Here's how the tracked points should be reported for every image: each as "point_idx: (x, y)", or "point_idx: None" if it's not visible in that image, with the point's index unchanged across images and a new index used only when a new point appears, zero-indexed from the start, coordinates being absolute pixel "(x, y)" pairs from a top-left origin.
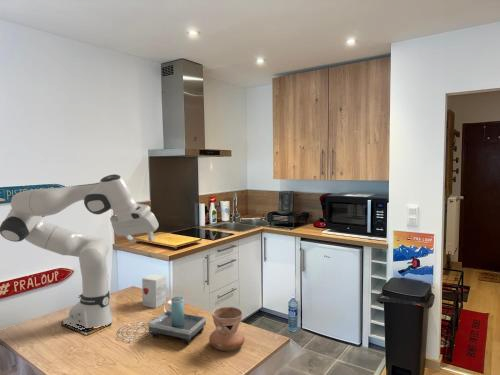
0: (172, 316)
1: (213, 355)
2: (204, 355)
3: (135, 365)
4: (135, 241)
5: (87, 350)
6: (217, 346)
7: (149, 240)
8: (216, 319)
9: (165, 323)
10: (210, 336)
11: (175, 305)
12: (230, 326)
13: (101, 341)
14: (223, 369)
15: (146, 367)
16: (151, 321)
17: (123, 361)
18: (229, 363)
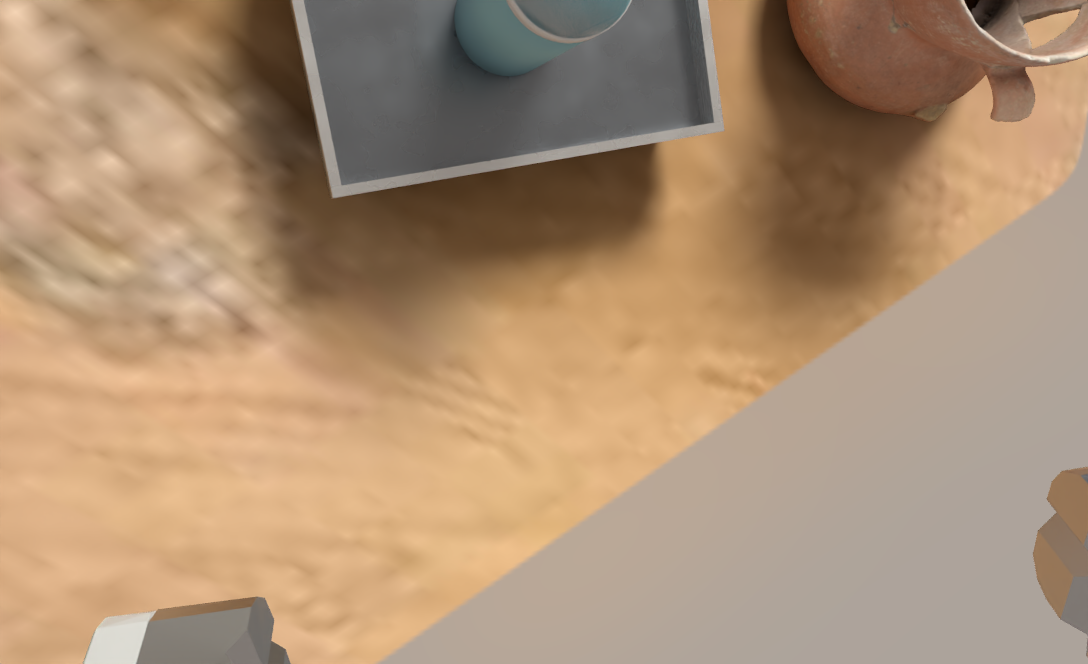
0: (511, 62)
1: (861, 145)
2: (816, 175)
3: (534, 493)
4: (270, 641)
5: (78, 582)
6: (906, 114)
7: (1079, 607)
8: (1012, 63)
9: (414, 77)
10: (837, 58)
11: (581, 42)
12: None
13: (37, 445)
14: (976, 235)
15: (607, 468)
16: (328, 160)
17: (433, 511)
18: (977, 168)
